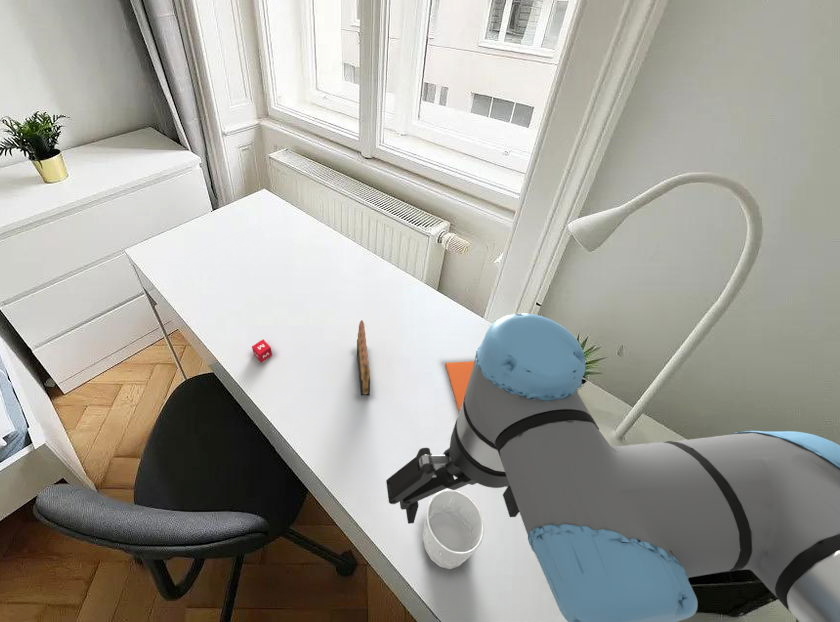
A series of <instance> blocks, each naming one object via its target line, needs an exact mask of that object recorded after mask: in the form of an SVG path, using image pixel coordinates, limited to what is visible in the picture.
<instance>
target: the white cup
mask: <svg viewBox="0 0 840 622" xmlns="http://www.w3.org/2000/svg"><path fill="white" fill-rule="evenodd" d="M484 523H485V522H484V519H483V515H482V513H481V511H480V508H479V507H478V506H477V504H476V503H475V501H474V500H472V499H471V498H470V497H469V496H468V495H467V494H465V493H463V492H462V491H460V490H459V491H458V490H452V489H444V490H442V491H439V492H437V493H435V494H433V495H432V497H431V498H430V500H429V502H428V504H427V508H426V512H425V519H424V525H423V535H422V539H423V545H424V550H425V552H426V554H427V555H428V557H429V559H430V560H431V561H432V562H433V563H435V564H436V566H439V567H440V568H442V569H448V570H452V569H455V568H458V567H460V566H462V564H464V563H465V562H466V561H467V560H468V559H469V558H470V557H471V556H472V555H473V553H474V552H475V551H476V550H478V548H479V546H480V545H481V544H482V541H483V538H484V534H485V524H484Z"/></svg>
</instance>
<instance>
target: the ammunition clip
mask: <svg viewBox="0 0 840 622" xmlns="http://www.w3.org/2000/svg"><path fill="white" fill-rule="evenodd" d="M356 358H357V369H358V380H359V389H360V390H359V393H360V396H361V397H364V396H370V395H371V376H370V373H371V371H370V365H369V364H370V362H369V355H368V346H367V338H366V329H365V323H364V321H363V320H362V319H361V320H360V322H359V324H358V332H357V339H356Z"/></svg>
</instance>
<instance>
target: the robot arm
mask: <svg viewBox="0 0 840 622" xmlns="http://www.w3.org/2000/svg"><path fill="white" fill-rule="evenodd" d="M474 361H475V362H474V365H473V369H472V372H471V375H470V379H469V382H468V386H467V389H466V392H465V397H464V400H463V403H462V406H461V409H460V412H459V411H458V415H457V418H456V420H455V423H454V425H453V429H452V432H451V436H450V442H449V447H448V448H447V449H445V450H444V452H443V453H442V454H432V453H431V449H430V448H429V447H422V448H420V449H418V451H417V454H416V456H415V457H414V458H413V459H410V461H409V462H407V463H406V464H405V465H404V466H402V467H400V468H399V469H398V470H397V471H396V472H394V474H392V475H391V476H390V477H388V478H387V479H386V483H385V484H386V491H387V499H388V504H390V505H396V504H399V506H400V510H402V511H403V510H405V513H406V519H407V524H408V525H409V524H415V520H416V516H417V513H418V510H419V505H420V504H419V501H422V500H423V499H424V500H425V499H426V498H428V497H430V496H434V495H436V494H437V493H439V492H441V491H444V490H455V491H457V490H458V489H460V488H463V487H465V486H467V485H471V486H474V485H476V484H479V485H481V486H482V487H486V488H492V489H501V488H505V487H506V489H505V491H504V492H503V494H502V497H503V500H504V504H505V506H506V510H507V513H508V517H510V518H516V517H517V516H518V514H519V515H520V517H521V520H522V524H523V526H524V528H525V532H526V533H527V542H528V543H529V546H530V548H531V551H532V552H533V553H534V554H535V557H536V559H537V561H538V564H539V566H540V568H541V571H542V573H543V575H544V578H545V579H546V582H547V584H548V586H549V589H550V591H551V593H552V595H553V598H554V600H555V603H556V605H557V608H558V609H559V612H560V614H561V615H562V616H563V618H564V619H565V621H567V622H680V621H684V620H687V619H689V618H691V617H693V616H694V615H695V614H696V612H697V611H698V605H699V604H698V602H699V601H698V598H697V595H696V594H695V591H694V589H693V587H692V585H691V583H690V581H689V578H694V577H695V578H696V577H701V576H706V575H707V576H708V575H712V574H720V573H729V572H731V573H732V572H735V571H745V570H746V571H747V570H749V571H751V572H752V573H753V574H754V575H755V576H756V577H757V578H758V579H759V580H760V581H761V583H763V584H764V586H765V587H766V588H767V589H768V590H769V592H771V593H772V595H774V596H775V597H776V599H777V600H778V601H779V602H780V603H781V604H782V606H783V607H784V608H786V610H787V611H788V612H789V613H790V614H792V615H793V616H794V618H795V619H796V620H797V621H798V622H840V444H838V443H836V442H834V441H831V440H830V439H827V438H825V437H822V436H819V435H816V434H813V433H808V432H802V431H794V430H792V431H791V430H790V431H789V430H787V431H782V430H781V431H779V430H777V431H776V430H775V431H762V430H745V431H736V432H733V433H730V434H725V435H715V436H708V437H700V438H691V439H682V440H681V439H680V440H674V441H672V440H667V441H656V442H648V443H636V444H625V445H610V443H609V442H608V440H607V439H606V438H605V436H604V435H603V433H602V432H601V431H600V428H599V426H598V424H597V423H596V421H595V419H594V417H593V416H592V414H591V413H590V411H589V409H588V407H587V406H586V404H585V403H584V401H583V399H582V398H581V396H580V394H579V392H578V389H580V388H581V387H582V384H583V377H584V376H585V373H586V363H587V362H586V357H585V352H584V349H583V348H582V345H581V344H580V341H578V339H577V338H576V337H575V335H573V333H572V332H570V331H569V330H568V329H567V328H566V327H564V326H563V325H561V324H560V323H558V322H556V321H554V320H553V319H550V318H548V317H546V316H543V315H539V314H534V313H527V312H525V313H524V312H523V313H513V314H512V313H511V314H506V315H504V316H501V317H499V318H498V319H497V320H495V321H494V322H493V323H491V324H490V326H489V327H488V329H487V331H486V333H485V335H484V338H483V340H482V342H481V344H480V345H479V346H478V348H477V350H476V352H475V356H474Z"/></svg>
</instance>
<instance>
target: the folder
mask: <svg viewBox="0 0 840 622" xmlns="http://www.w3.org/2000/svg"><path fill="white" fill-rule="evenodd" d="M474 362H475V360H474V361H473V360H472V361H455V362H453V361H452V362H445V364H444V365H445V369H446V371H447V375H448V379H449V382H450V385H451V390H452V393H453V396H454V399H455V403H456V407H457V410H458V413H459V412H460V409H461V406H462V403H463V400H464V397H465V392H466V389H467V386H468V382H469V379H470V375H471V372H472V369H473V365H474Z"/></svg>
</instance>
